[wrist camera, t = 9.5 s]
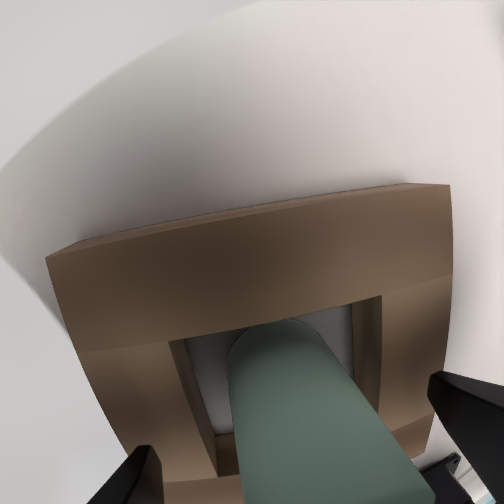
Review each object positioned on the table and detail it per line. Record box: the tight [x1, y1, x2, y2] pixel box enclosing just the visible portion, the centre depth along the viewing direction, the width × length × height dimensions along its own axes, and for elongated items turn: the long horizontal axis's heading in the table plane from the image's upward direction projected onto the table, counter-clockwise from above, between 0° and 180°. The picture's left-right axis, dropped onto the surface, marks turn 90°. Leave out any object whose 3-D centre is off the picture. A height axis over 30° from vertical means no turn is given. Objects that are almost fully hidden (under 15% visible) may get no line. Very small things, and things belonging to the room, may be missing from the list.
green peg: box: [226, 319, 435, 504], centre depth 8 cm, size 4×4×8 cm
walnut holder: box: [45, 183, 453, 504], centre depth 11 cm, size 12×12×2 cm
